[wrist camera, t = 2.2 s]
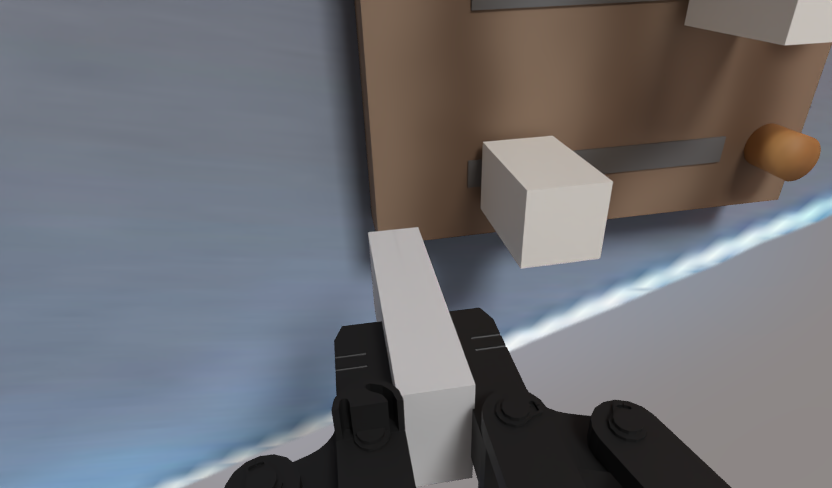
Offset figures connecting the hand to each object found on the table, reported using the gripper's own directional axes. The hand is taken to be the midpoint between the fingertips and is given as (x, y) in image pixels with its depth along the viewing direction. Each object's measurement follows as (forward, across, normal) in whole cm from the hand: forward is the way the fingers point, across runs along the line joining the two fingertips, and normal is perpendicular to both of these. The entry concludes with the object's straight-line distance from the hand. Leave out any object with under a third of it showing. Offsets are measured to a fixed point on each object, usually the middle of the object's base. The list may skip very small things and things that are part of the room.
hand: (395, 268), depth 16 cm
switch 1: (+6, +6, 0) cm, 9 cm away
